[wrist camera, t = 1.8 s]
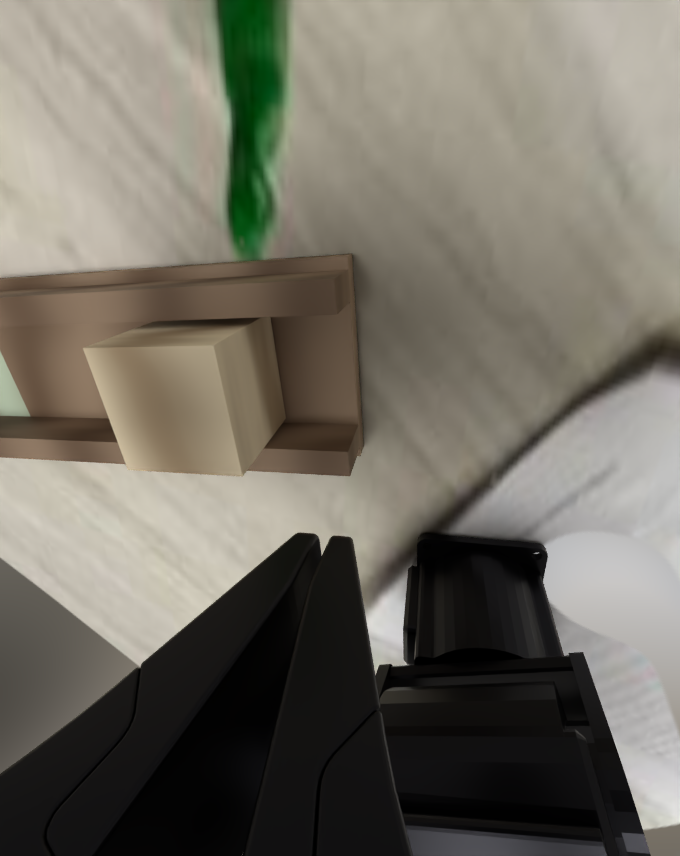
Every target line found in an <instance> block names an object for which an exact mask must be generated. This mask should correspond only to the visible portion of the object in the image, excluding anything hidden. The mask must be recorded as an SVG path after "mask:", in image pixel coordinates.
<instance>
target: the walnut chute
mask: <svg viewBox="0 0 680 856" xmlns="http://www.w3.org/2000/svg"><path fill="white" fill-rule="evenodd" d="M258 317H270V318H271V324H272V331H273V337H274V344H275V350H276V357H277V363H278V370H279V376H280V383H281V389H282V396H283V402H284V409H285V416H286V419H285V420H284V422H283V423H282V424H281V426H280V427H279V428H278V430H277V431H276V432H275V434H274V435H273V436H272V438H271V439H270V440H269V442H268V443H267V444H266V446H265V447H264V448H263V450H262V451H261V452H260V454H259V455H258V456H257V458H256V459H255V460H254V462H253V463H252V464H251V466H250V467H249V469H248V470H247V471H263V472H282V473H300V474H318V475H337V476H350V475H351V472H352V469H353V466H354V463H355V460H356V457H357V456H361V453H362V449H363V446H364V443H363V427H362V410H361V393H360V377H359V360H358V343H357V326H356V310H355V293H354V276H353V259H352V254H343V255H329V256H314V257H300V258H286V259H271V260H257V261H243V262H228V263H214V264H200V265H185V266H171V267H156V268H142V269H128V270H113V271H99V272H85V273H70V274H56V275H42V276H27V277H13V278H0V457H5V458H24V459H42V460H61V461H79V462H97V463H116V464H126V463H125V461H124V458H123V455H122V453H121V450H120V447H119V444H118V442H117V439H116V436H115V434H114V431H113V428H112V426H111V423H110V420H109V417H108V415H107V412H106V409H105V407H104V404H103V401H102V399H101V396H100V393H99V390H98V388H97V385H96V382H95V380H94V377H93V374H92V372H91V369H90V366H89V364H88V361H87V358H86V355H85V353H84V350H83V348H85V347H87V346H90V345H92V344H95V343H98V342H100V341H103V340H106V339H108V338H111V337H114V336H116V335H119V334H122V333H124V332H127V331H129V330H132V329H135V328H137V327H140V326H143V325H145V324H148V323H151V322H153V321H174V320H202V319H230V318H258Z"/></svg>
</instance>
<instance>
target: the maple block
mask: <svg viewBox="0 0 680 856" xmlns="http://www.w3.org/2000/svg"><path fill="white" fill-rule="evenodd" d="M83 350H84V353H85V355H86V358H87V361H88V364H89V366H90V369H91V372H92V374H93V377H94V380H95V382H96V385H97V388H98V390H99V393H100V396H101V399H102V401H103V404H104V407H105V409H106V412H107V415H108V417H109V420H110V423H111V426H112V428H113V431H114V434H115V436H116V439H117V442H118V444H119V447H120V450H121V453H122V455H123V458H124V461H125V463H126V466H127V469H128V470H139V471H156V472H174V473H191V474H208V475H226V476H243V475H244V474H245V473H246V471H247V470H248V469H249V467H250V466H251V464H252V463H253V462H254V460H255V459H256V458H257V456H258V455H259V454H260V452H261V451H262V450H263V448H264V447H265V446H266V444H267V443H268V442H269V440H270V439H271V438H272V436H273V435H274V434H275V432H276V431H277V430H278V428H279V427H280V426H281V424H282V423H283V422H284V420H285V419H286V416H285V409H284V402H283V396H282V389H281V383H280V376H279V370H278V363H277V357H276V350H275V344H274V337H273V331H272V324H271V318H270V317H258V318H230V319H202V320H174V321H153V322H151V323H148V324H145V325H143V326H140V327H137V328H135V329H132V330H129V331H127V332H124V333H122V334H119V335H116V336H114V337H111V338H108V339H106V340H103V341H100V342H98V343H95V344H92V345H90V346H87V347H85V348H83Z"/></svg>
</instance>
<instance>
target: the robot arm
mask: <svg viewBox="0 0 680 856" xmlns="http://www.w3.org/2000/svg"><path fill="white" fill-rule="evenodd" d="M424 543H430V544H429V545H426V544H424ZM535 552H539V553H538V554H533V553H535ZM547 557H548V556H547V551H546V548H545V547H544V546H543V545H541V544H538V543H529V542H517V541H505V540H493V539H481V538H469V537H457V536H445V535H433V534H423V535H421V536H420V537H419V538H418V544H417V566H411V567H410V568H409V569H408V579H407V591H406V603H405V614H404V626H403V645H404V661H405V662H406V663H407V665H405V666H392V665H391V664H386V665H379V668H378V670H377V673H376V676H375V671H374V665H373V659H372V653H371V647H370V641H369V635H368V629H367V623H366V617H365V610H364V604H363V598H362V592H361V586H360V580H359V574H358V568H357V562H356V556H355V550H354V544H353V540H352V538H351V537H345V536H332V537H331V538H330V540H329V542H328V544H327V546H326V548H325V551H324V553H323V555H321V548H320V541H319V538H318V536H317V535H316V534H311V533H297V534H295V535H294V536H292V537H291V538H290V539H289V540H288V541H286V542H285V543H284V544H283V545H282V546H280V547H279V548H278V549H277V550H276V551H275V552H273V553H272V554H271V555H270V556H269V557H267V558H266V559H265V560H264V561H263V562H261V563H260V564H259V565H258V566H257V567H256V568H254V569H253V570H252V571H251V572H250V573H248V574H247V575H246V576H245V577H244V578H242V579H241V580H240V581H239V582H238V583H237V584H235V585H234V586H233V587H232V588H231V589H229V590H228V591H227V592H226V593H225V594H223V595H222V596H221V597H220V598H219V599H218V600H216V601H215V602H214V603H213V604H212V605H210V606H209V607H208V608H207V609H206V610H205V611H203V612H202V613H201V614H200V615H199V616H197V617H196V618H195V619H194V620H193V621H191V622H190V623H189V624H188V625H187V626H186V627H184V628H183V629H182V630H181V631H180V632H178V633H177V634H176V635H175V636H174V637H172V638H171V639H170V640H169V641H168V642H167V643H165V644H164V645H163V646H162V647H161V648H159V649H158V650H157V651H156V652H155V653H153V654H152V655H151V656H150V657H149V658H148V659H146V660H145V661H144V662H143V663H142V664H141V668H136V669H134V670H133V671H132V672H131V673H129V674H128V675H127V676H126V677H125V678H124V679H122V680H121V681H120V682H119V683H118V684H117V685H115V686H114V687H113V688H112V689H110V690H109V691H108V692H107V693H105V694H104V695H103V696H102V697H101V698H99V699H98V700H97V701H96V702H94V703H93V704H92V705H91V706H90V707H88V708H87V709H86V710H85V711H83V712H82V713H81V714H80V715H78V716H77V717H76V718H74V719H73V720H72V721H70V722H69V723H68V724H66V725H65V726H64V727H63V728H61V729H60V730H59V731H57V732H56V733H55V734H53V735H52V736H51V737H50V738H48V739H47V740H45V741H44V742H43V743H41V744H40V745H39V746H37V747H36V748H35V749H33V750H32V751H31V752H29V753H28V754H27V755H25V756H24V757H23V758H21V759H20V760H18V761H17V762H16V763H14V764H13V765H12V766H10V767H9V768H8V769H6V770H5V771H3V772H2V773H1V774H0V856H651V855H650V852H649V849H648V846H647V842H646V839H645V836H644V833H643V829H642V826H641V823H640V820H639V816H638V813H637V810H636V807H635V804H634V801H633V798H632V794H631V791H630V788H629V785H628V782H627V779H626V776H625V773H624V770H623V767H622V764H621V761H620V758H619V755H618V752H617V749H616V746H615V743H614V740H613V737H612V734H611V731H610V728H609V726H608V723H607V720H606V717H605V714H604V711H603V708H602V705H601V702H600V700H599V697H598V694H597V691H596V688H595V685H594V682H593V679H592V676H591V674H590V671H589V668H588V665H587V662H586V659H585V656H584V653H583V652H578V653H569V656H564V655H563V651H562V647H561V644H560V640H559V637H558V633H557V630H556V626H555V623H554V619H553V616H552V612H551V609H550V605H549V602H548V598H547V595H546V591H545V588H544V584H543V578H544V573H545V568H546V562H547ZM242 854H243V855H242Z"/></svg>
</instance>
